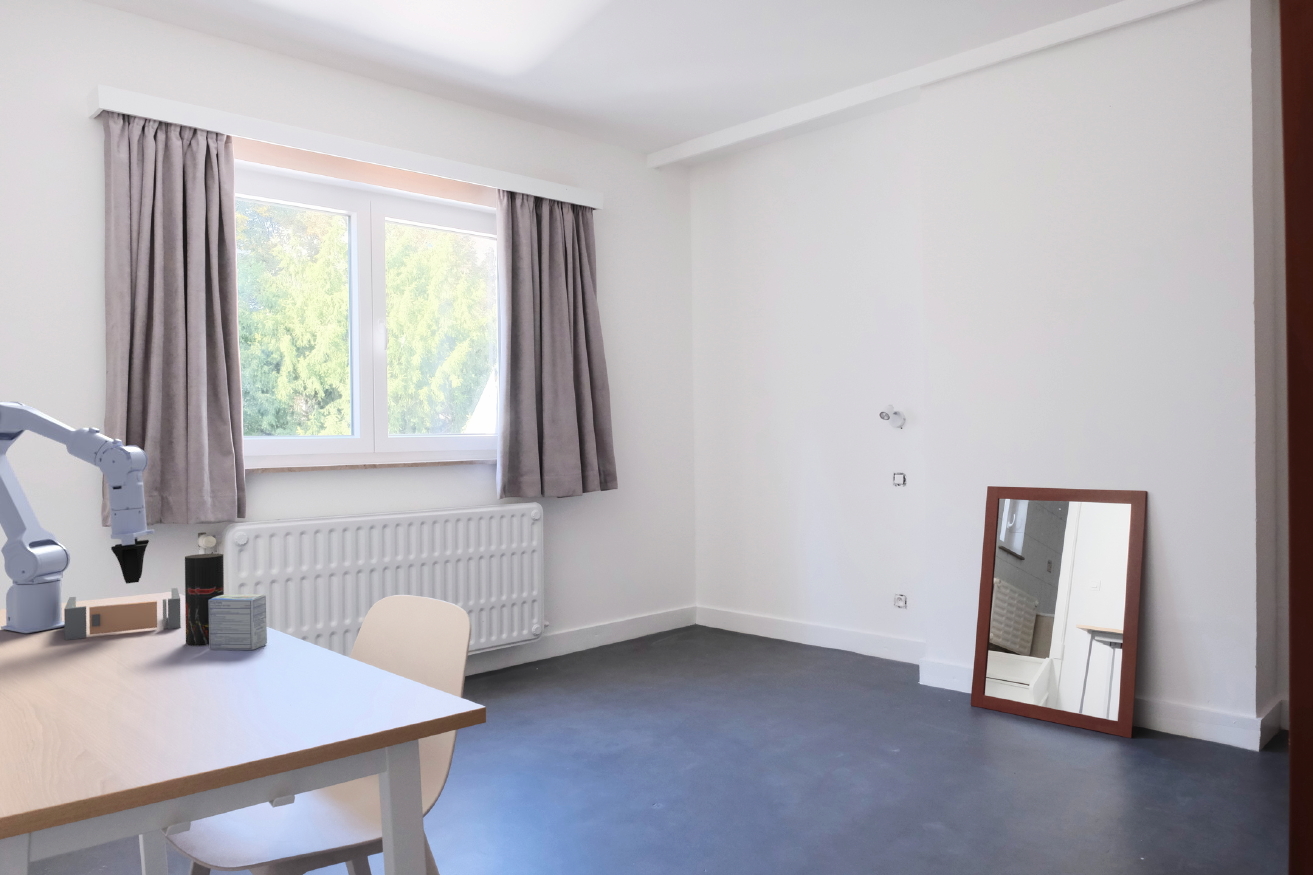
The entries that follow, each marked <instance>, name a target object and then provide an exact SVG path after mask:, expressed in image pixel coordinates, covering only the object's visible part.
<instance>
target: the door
mask: <svg viewBox="0 0 1313 875" xmlns="http://www.w3.org/2000/svg"><path fill="white" fill-rule="evenodd" d="M88 610H89V620H88V621H89V635H98V634H99V635H100V634H107V633H109V634H110V633H117V632H118V633H119V632H130V631H137V630H145V629H155V628H157V629H158V601H157V600H151V601H141V602H131V603H130V602H129V603H119V604H118V603H117V604H107V605H96V606H89V608H88Z"/></svg>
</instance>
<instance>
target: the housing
mask: <svg viewBox="0 0 1313 875" xmlns="http://www.w3.org/2000/svg"><path fill="white" fill-rule="evenodd" d="M170 589H171V598H167V599H166V598H164V599H162V629H163V630H167V629H168V630H171V629H180V628H181V596H180V593H179V590H178V587H175V588H174V587H173V588H170ZM63 612H64V613H63V614H64V615H63V616H64V624H65V627H64V641H67V640H76V639H77V640H78V639H80V640H81V639H87V638H88V636H87V635H88V634H87V606H86V605H85V606H84V605H83V606H77V597H76V596H73V597H72V596H69V598H68V600H67V602H66V604H65V606H64V610H63Z"/></svg>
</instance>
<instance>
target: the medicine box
mask: <svg viewBox="0 0 1313 875" xmlns="http://www.w3.org/2000/svg"><path fill="white" fill-rule="evenodd" d="M267 624H268V623H267V595H266V594H249V593H247V594H243V593H242V594H238V593H237V594H224V595H220V596H217V597H214V598H212V599H209V645H208V647H209V650H210V651H212V650H213V651H215V650H216V651H218V650H220V651H223V650H224V651H226V650H227V651H228V650H229V651H235V650H239V651H244V650H245V651H254V650H257V649H259V648H261V647H263V646H266V645H267V644H268V632H267V631H268V627H267Z"/></svg>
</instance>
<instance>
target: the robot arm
mask: <svg viewBox="0 0 1313 875" xmlns="http://www.w3.org/2000/svg"><path fill="white" fill-rule="evenodd" d="M26 431H29V432H32V433H34V434H37V435H39V436H42V437H44V438H47V439H50V440H52V441H55V442H58V443H60V444H63V445H65V446H66V450H67V453H68V454H69V455H70V456H73V457H75V458H77V459H80V460H82V461H84V462H87V463H89V464H91V465H93V466H95V467H98V468H99V470H100V472H101V473H102V474H103V475H104V476H105V480H106V484H107V489H108V500H109V501H108V502H109V512H110V513H109V516H110V526H111V534H110V538H111V539H112V540H113V539H114V540H116V539H117V540H121V543H117V544H115V545H114V546H113V545H112V546H111V547H110V549H111V551H112V552H113V554H114V556H115V558H116V559H117V561H118V564H119V566H120V569H121V572H122V573H121V575H122V577H123V580H124V582H125V584H127V585H128V584H135V583H139V582H140V579H141V578H142V574H143V567H144V566H143V565H144V557H145V552H146V550H147V547H148V544H149V542H150V540H149V539H141V540H140V539H139V537H144V536H147V535H151V534H152V535H153V534H155V529H148V527H147V526H148V524H147V515H146V514H147V512H146V501H145V488H144V475H143V474H144V473H143V472H144V471H145V470H146V469H147V467H148V462H149V459H148V455H147V453H146V452H145V451H144V450H143V449H142V448H140V447H139V446H138V445H135V444H133V445H132V444H130V445H129V444H128V445H124V444H123V440H121V439H119V438H115V439H114V438H110V437H108V436H106V435H104V434H102V433H100V432H101V429H99V428H96V427H94V426H93V427H89V428H88V427H81V428H78V429H75V428H74V427H72V426H69V425H68V424H66V423H63V422H61V421H60V420H58V419H55V418H54V417H52V416H50V415H47V414H46V413H44V412H42V411H40V410H39V409H37V408H35V407H33V406H31V405H26V404H24V403H23V402H19V401H0V526H1V528H2V530H3V532H4V534H5V536H6V538H7V539H6V541H5V543H4V544H3V546H2V547H1V550H0V551H1V553H2V556H3V560H4V571H5V573H6V575H7V577H8V578H9V579H11V581H12V585H11V586H10V587H8V590H7V592H6V594H5V595H6V596H5V610H6V612H5V614H6V616H5V618H6V620H5V625H1V626H0V629H1V630H6V631H11V632H17V633H21V634H31V633H37V632H40V631H48V630H52V629H59V628H65V624H64V621H63V619H62V618H63V616H62V615H63V613H62V608H63V607H62V603H63V602H62V578H63V577H64V572H65V571H66V570H67V569H68V568H69V565H70V562H71V556H70V553H69V550H68V548H66V546H64V545H63V544H62V543H60V542H59V541H58V539H57V537H56V535H55V534H54V533H52V532H50V531H49V530H47V529H45V528H44V527H42V526H41V524H40V522H39V520H38V518H37V516H36V513H35V511H34V509H33V507H32V505H31V503H30V502H29V500H28V498H27V496H26V494H25V492H24V490H23V487H22V485H21V483H20V481H19V479H18V477H17V475H16V474H15V471H14V470H13V467H12V465H11V463H10V461H9V459H8V457H7V455H6V454H7V452H8V450H9V448H10V447H11V446H13V444H15V442H16V441H17V440H18V439H19V438H20V437H21V436H22V435H23V434H24V433H25V432H26Z"/></svg>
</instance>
